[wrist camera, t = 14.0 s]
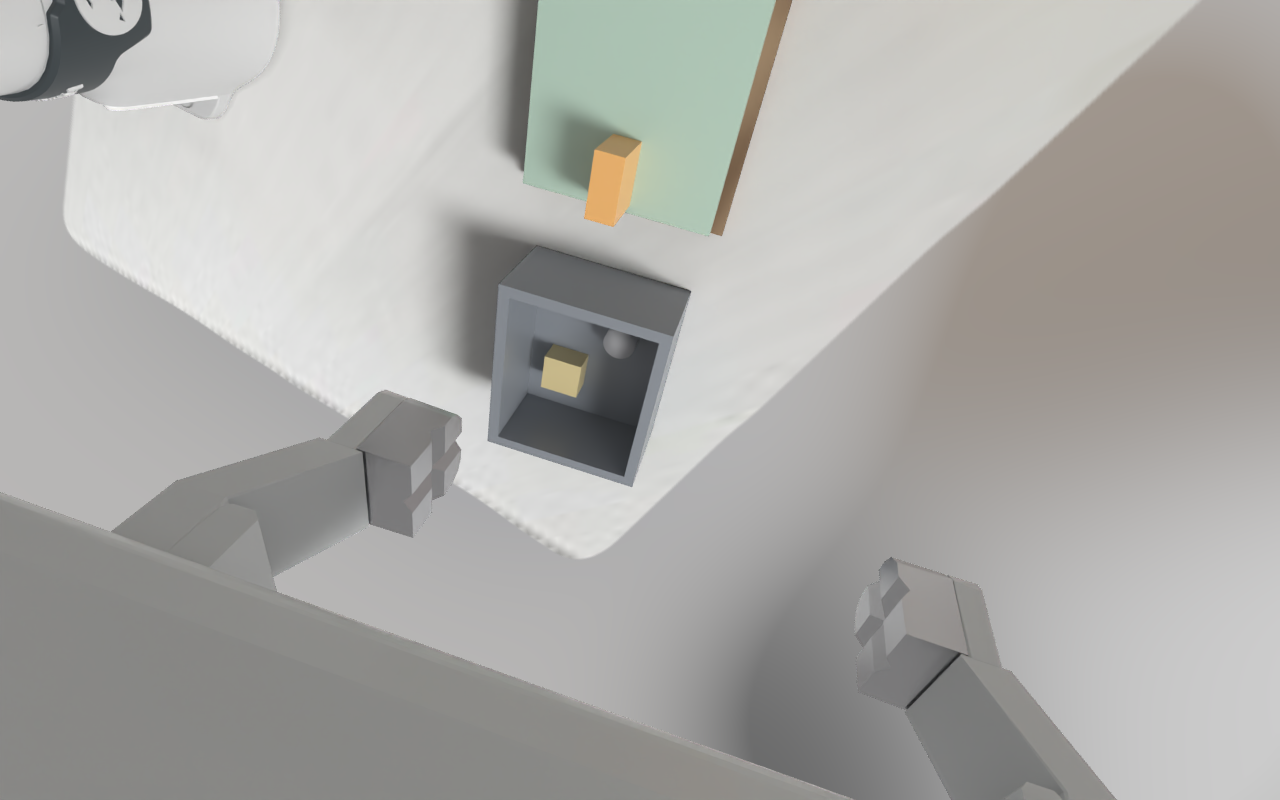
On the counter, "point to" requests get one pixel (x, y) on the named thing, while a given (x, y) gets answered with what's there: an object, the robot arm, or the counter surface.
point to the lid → (641, 103)
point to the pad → (751, 112)
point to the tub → (581, 362)
